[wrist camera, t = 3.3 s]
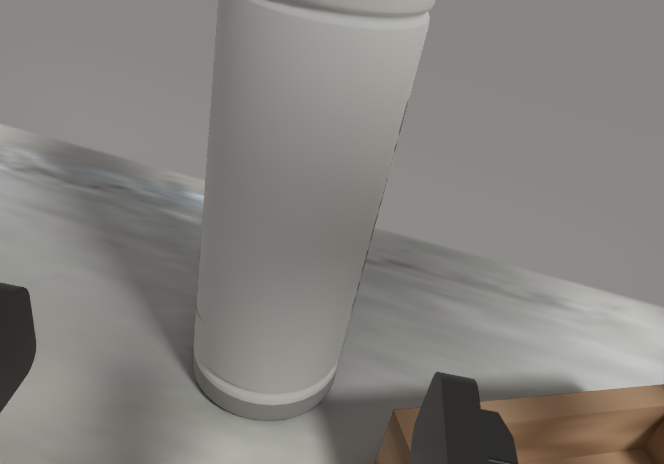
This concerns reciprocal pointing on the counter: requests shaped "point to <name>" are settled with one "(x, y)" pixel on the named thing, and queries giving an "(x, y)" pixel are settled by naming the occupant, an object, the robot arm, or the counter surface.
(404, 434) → the walnut caddy
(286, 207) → the travel mug
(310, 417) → the counter surface
